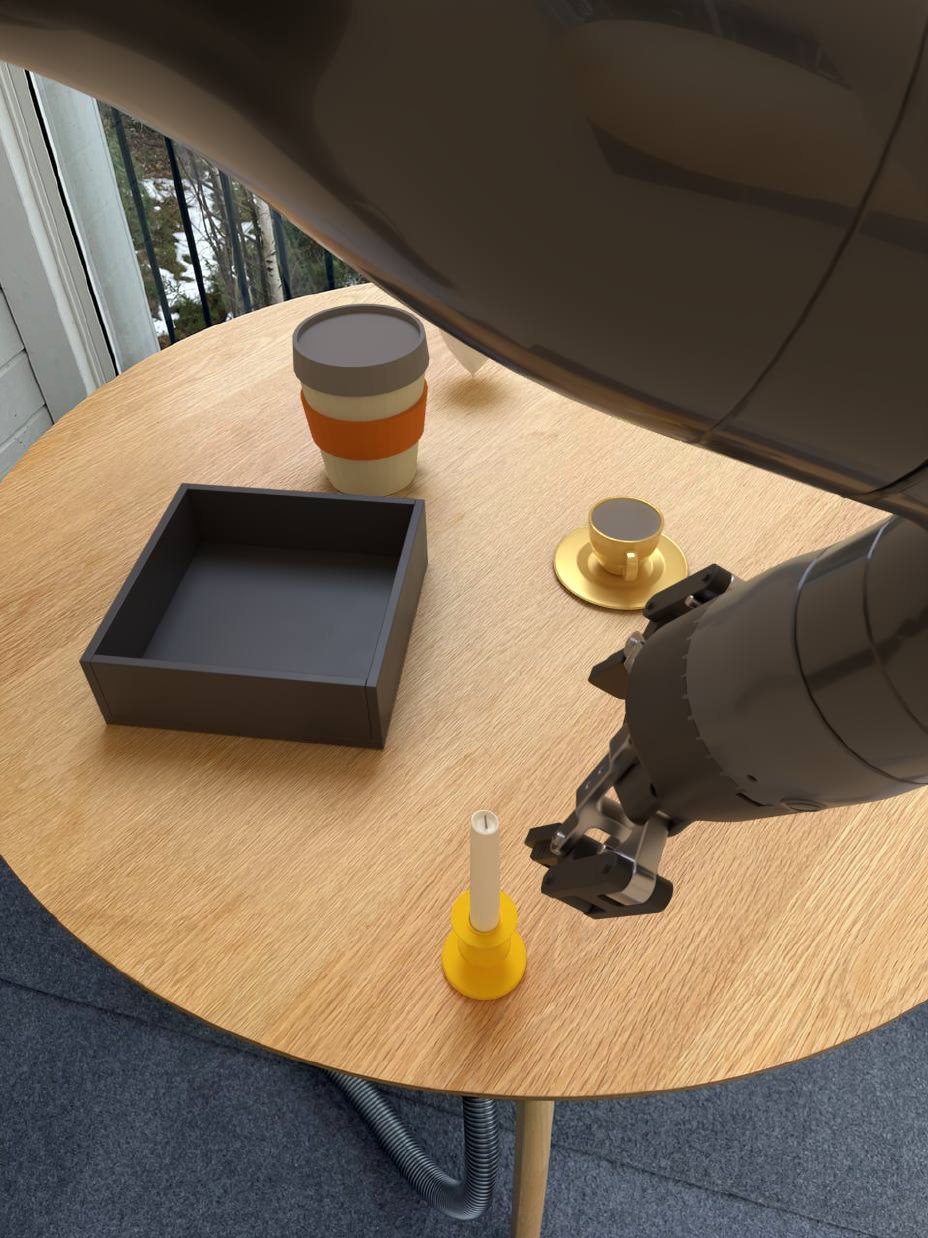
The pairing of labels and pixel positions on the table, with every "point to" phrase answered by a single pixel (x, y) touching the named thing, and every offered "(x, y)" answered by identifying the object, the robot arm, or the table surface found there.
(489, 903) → the candle
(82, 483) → the table surface
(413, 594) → the bin
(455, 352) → the spinning top
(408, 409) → the reusable coffee cup
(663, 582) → the cup
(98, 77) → the robot arm
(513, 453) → the table surface
